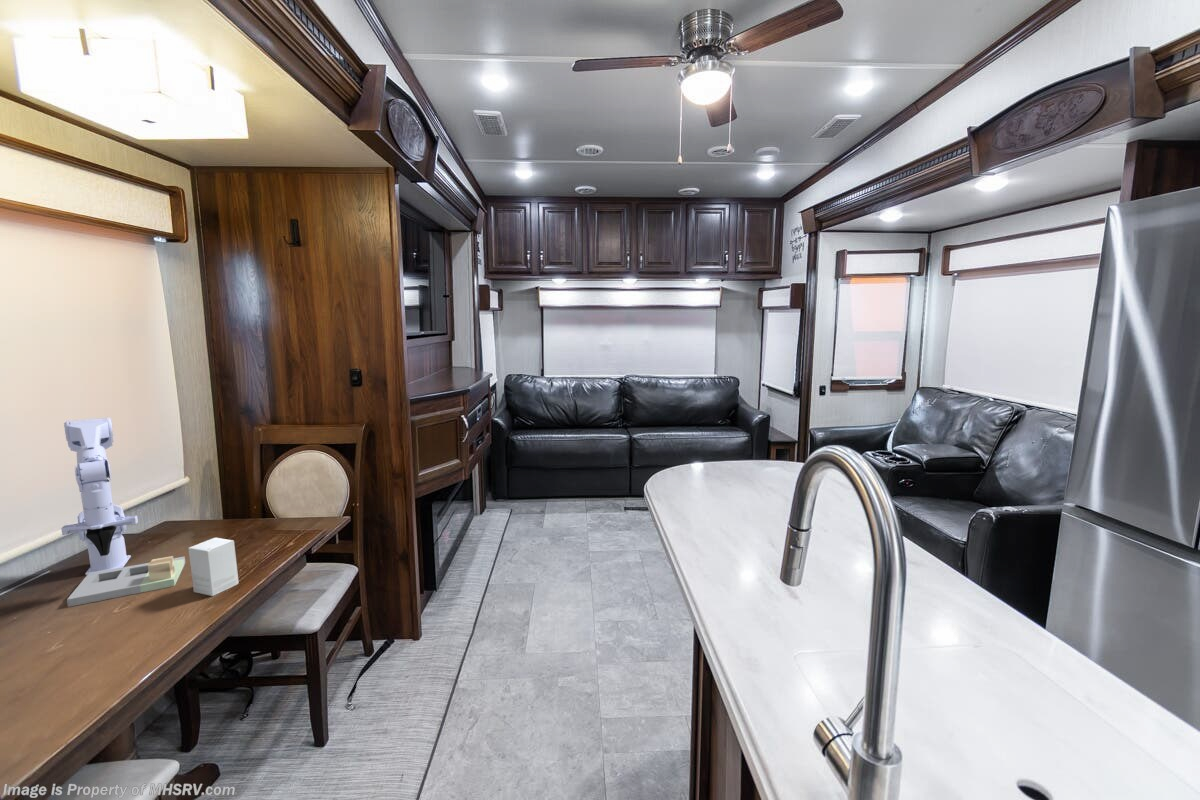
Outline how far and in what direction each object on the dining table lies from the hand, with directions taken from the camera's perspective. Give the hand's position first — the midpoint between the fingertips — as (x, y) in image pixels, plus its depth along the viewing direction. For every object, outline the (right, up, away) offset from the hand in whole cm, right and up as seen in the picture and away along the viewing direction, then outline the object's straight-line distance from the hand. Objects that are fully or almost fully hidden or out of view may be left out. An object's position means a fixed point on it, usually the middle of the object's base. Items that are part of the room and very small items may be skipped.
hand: (105, 554), depth 138 cm
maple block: (+13, -7, +3) cm, 15 cm away
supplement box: (+29, -10, +1) cm, 31 cm away
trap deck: (+4, -9, +4) cm, 10 cm away
